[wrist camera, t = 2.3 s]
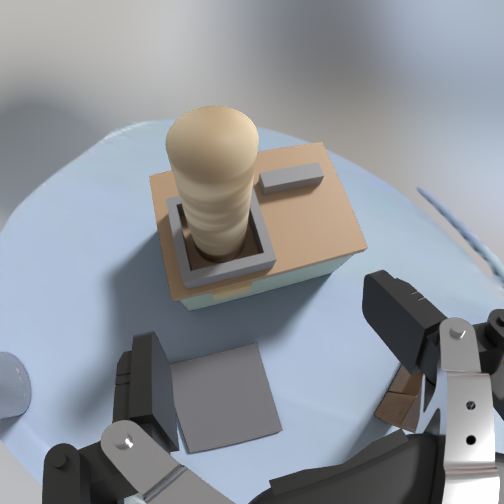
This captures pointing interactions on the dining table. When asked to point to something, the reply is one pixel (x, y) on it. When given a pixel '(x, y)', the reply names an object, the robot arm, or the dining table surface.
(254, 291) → the pale green box
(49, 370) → the dining table surface
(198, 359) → the charcoal mat
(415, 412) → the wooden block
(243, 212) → the tan ridged cylinder
